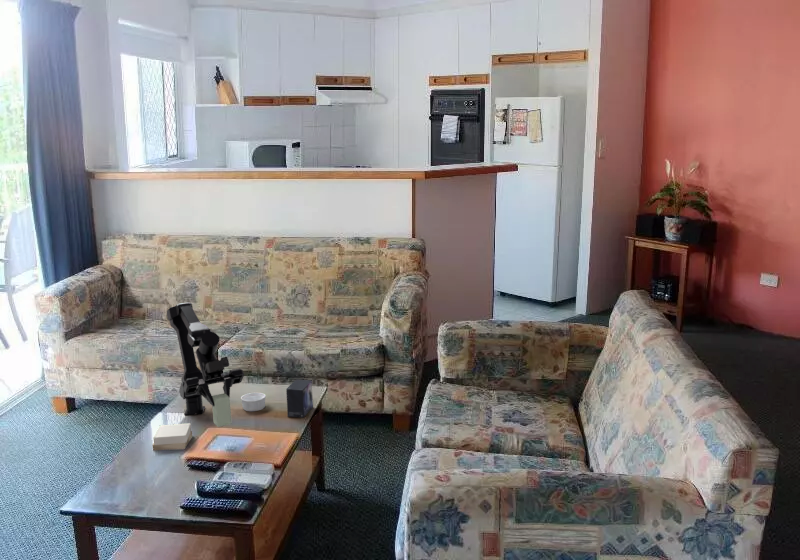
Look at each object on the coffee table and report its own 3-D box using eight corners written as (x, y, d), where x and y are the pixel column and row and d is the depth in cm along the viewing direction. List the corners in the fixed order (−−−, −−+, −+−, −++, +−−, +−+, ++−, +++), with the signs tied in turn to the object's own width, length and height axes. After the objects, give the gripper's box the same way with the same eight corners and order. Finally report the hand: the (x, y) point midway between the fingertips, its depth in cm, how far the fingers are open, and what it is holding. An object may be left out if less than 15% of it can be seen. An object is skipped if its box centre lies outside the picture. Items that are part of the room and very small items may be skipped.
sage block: (213, 422, 241) (211, 396, 239) (227, 419, 243) (225, 393, 242) (217, 427, 237) (215, 400, 236) (231, 423, 240) (229, 397, 238)
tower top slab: (160, 432, 247) (159, 425, 247) (191, 430, 248) (190, 423, 248) (154, 445, 238) (153, 437, 237) (186, 442, 239) (185, 435, 238)
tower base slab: (162, 439, 248) (161, 431, 248) (192, 437, 248) (191, 430, 248) (153, 452, 239) (152, 444, 238) (184, 450, 239) (183, 443, 238)
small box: (304, 418, 261) (302, 389, 258) (286, 417, 262) (285, 389, 260) (314, 407, 271) (312, 379, 269) (297, 406, 272) (295, 378, 270)
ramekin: (271, 405, 274) (270, 394, 273) (254, 414, 266) (253, 402, 265) (253, 401, 278) (252, 390, 277) (236, 409, 271) (235, 398, 270)
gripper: (182, 355, 235) (195, 398, 228) (240, 344, 244) (254, 386, 237) (178, 372, 243) (190, 414, 236) (233, 361, 253) (247, 402, 246)
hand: (221, 404), depth 239 cm, fingers closed on sage block, 4 cm apart
